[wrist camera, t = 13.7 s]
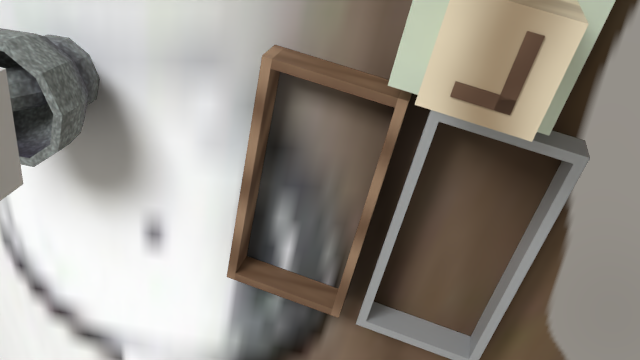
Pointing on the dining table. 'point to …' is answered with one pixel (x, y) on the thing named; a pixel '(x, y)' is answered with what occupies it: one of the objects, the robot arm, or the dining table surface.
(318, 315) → the dining table surface
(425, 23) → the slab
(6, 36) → the mortar and pestle
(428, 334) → the tray grey
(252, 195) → the tray walnut
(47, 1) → the dining table surface
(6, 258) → the dining table surface
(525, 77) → the letter cube
